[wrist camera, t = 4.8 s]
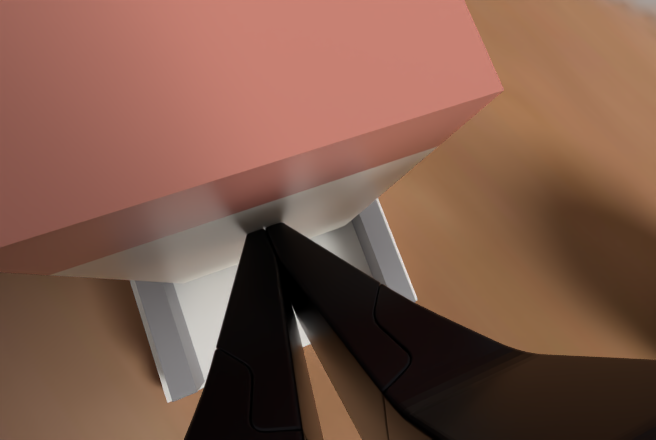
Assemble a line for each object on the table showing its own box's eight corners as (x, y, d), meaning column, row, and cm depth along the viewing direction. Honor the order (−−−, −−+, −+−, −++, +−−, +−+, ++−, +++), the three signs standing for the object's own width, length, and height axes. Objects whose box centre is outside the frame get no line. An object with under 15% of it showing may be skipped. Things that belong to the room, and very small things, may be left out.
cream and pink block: (344, 226, 16) (504, 90, 5) (183, 283, 14) (-67, 268, 4) (310, 134, 16) (387, -173, 5) (150, 182, 15) (-158, -89, 4)
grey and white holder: (409, 299, 17) (503, 306, 10) (174, 395, 15) (93, 483, 8) (275, -44, 19) (278, -233, 12) (51, 3, 17) (-98, -191, 10)
